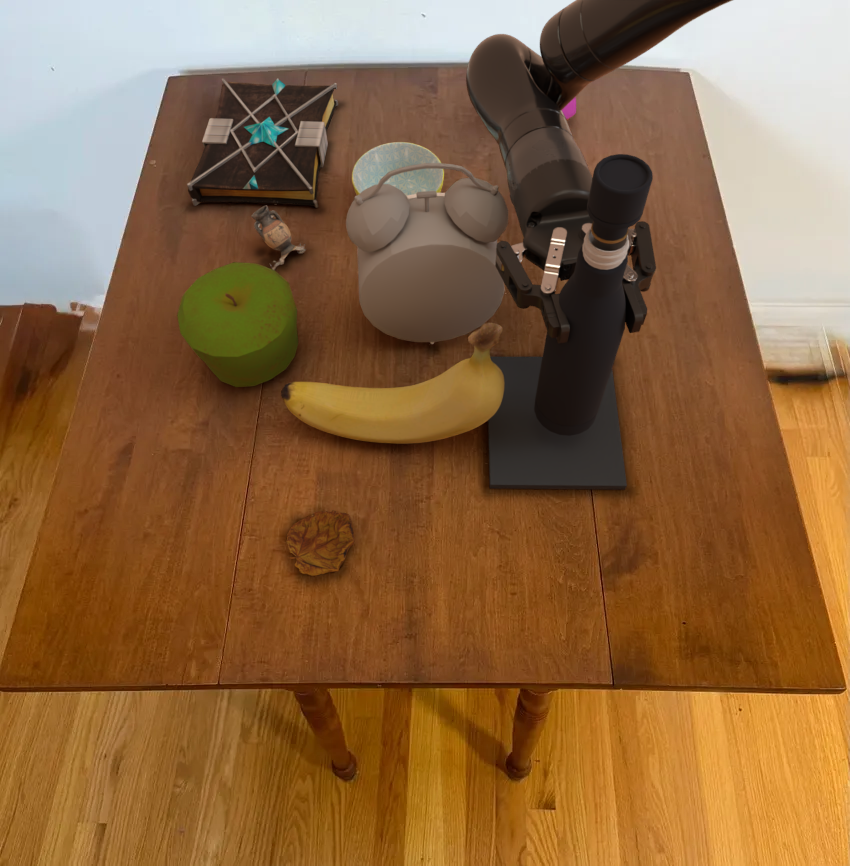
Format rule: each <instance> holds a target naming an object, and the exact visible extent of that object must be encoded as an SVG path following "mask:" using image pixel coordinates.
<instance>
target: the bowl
mask: <svg viewBox="0 0 850 866" xmlns="http://www.w3.org/2000/svg"><path fill="white" fill-rule="evenodd" d="M424 163H442V162H441V159H440V158H439V157H438V156H437V155H436V154H435V153H434V152H433V151H431V150H430V149H428V148H426V147H425V146H423V145H419V144H417V143H412V142H405V141H395V142H387V143H383V144H380V145H377V146H374V147H372V148H370V149H369V150H367V151H366V152H365V153H363V154H362V155H361V156H360V157H359V158H358V159H357V161H356V162H355V163H354V166H353V168H352V170H351V171H352V172H351V183H352V186H353V190H354V192H355V194H356V196H358V195H359V194H360V193H361V192H362V191H364V190H365V189H367V188H369V187H371V186H373V185H378V183H379V181H380V179H382V178H383V177H384V176H385V175H386V174H387V173H388V172H390V171H393V170H395V169H398V168H402V167H406V166H411V165H416V164H424ZM444 180H445V169H437V168H436V169H419V170H413V171H408V172H403V173H400V174H397V175H394V176H391V177H390V178H389V179H388V180H387V181H386V182H385V183H384V184H390V185H392V186H394V187H396V188H398V189H399V190H401V191H402V192H403V193H404V194H405V195H406V196H407V195H413V194H417V192H426V191H436V192H437V193H442V189H443V185H444Z"/></svg>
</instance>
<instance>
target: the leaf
mask: <svg viewBox="0 0 850 866" xmlns="http://www.w3.org/2000/svg"><path fill="white" fill-rule="evenodd" d="M353 528H354V527H353V521H352V518H351V516H350V514H349V513H347V512H338V511H336V510H334V509H332V510H331V511H328V510H325V511H324V510H318V511H314V512H313V513H312V514H311V515H308V516H307V517H305V518H302V519H301V520H299V521H298V522H295V523H293V524H292V526H291V527H290V529H289V531H288V533H287V535H285V536H286V538H287V539H286V540H285V542H286V544H287V547H288V551H289V553H290V554H293V555H294V556H295V557H294V556H293V557H289V559H296V561H295V563H294V567H295V568H297V569H298V571H299V573H300V574H302V575H307V576H312V577H314V576H315V577H316V576H318V575H324V574H327V573H335V572H339V571H340V567H341V566H342V564H343V563H344V562H345V560H346V557H347V554H348V551H349V549H350V548H351V547H352V546H353V545H354V544H355V534H354V529H353Z"/></svg>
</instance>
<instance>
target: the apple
mask: <svg viewBox="0 0 850 866" xmlns="http://www.w3.org/2000/svg"><path fill="white" fill-rule="evenodd" d="M176 316H177V323H178V329H179V333H180V335H181V337H182V338H183V339H184V341H185V342H186V343H187V345H188V346H189V347H190V349H191V350H192V351H193V352H194V354H196V356H197V357H198V358H199V359H200V360H201V361H203V362H204V363H205V365H206V366H207V367H208V369H209V370H210V371H211V373H213V374H214V375H215V376H216V378H217V379H218V380H219V381H220V382H222V383H225V384H227V385H230V386H233V387H234V388H244V387H245V388H246V387H256V386H258V385H261V384H264V383H266V382H268V381H270V380H272V379H274V378H275V377H277V376H278V375H280V374H281V373H282V372H283V371H285V370H287V368H288V367H289V365H290V364H291V363H292V361H293V360H294V358H295V357H296V353H297V349H298V345H299V335H298V334H299V333H298V327H297V326H298V308H297V304H296V302H295V299H294V294H293V292H292V289H291V285H290V282H289V281H287V279H285V278H284V277H283V276H282V275H280V273H278V271H276V269H274V270H273V269H272V268H270V267H267V266H265V265H262V264H260V263H257V262H239V261H234V262H231V263H230V262H229V263H228V264H225V265H222V266H219V267H217V268H214V269H212V270H210V271H209V272H207V273H204V274H203V275H201V276H199V277H197V278H196V280H195V281H194V282H193V283H192V284H191V285H190V286H189V287H188V289H186V291H185V292H184V293H183V294H182V296H181V297H180V302H179V306H178V310H177V315H176Z"/></svg>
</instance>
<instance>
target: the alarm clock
mask: <svg viewBox="0 0 850 866" xmlns="http://www.w3.org/2000/svg"><path fill="white" fill-rule="evenodd" d="M436 168H437V169H444V170H452V171H456V172H461V173H462V174H464V175H465V176H466V177H463V178H460V179H457V181H455V182H454V183H453V184H452V185H450V186H449V187H448V189H447V190H446V191H445V192H440V193H437V192H436V191H426V192H417V194H413V195H407V196H406V195H405V194H404V193H403V192H402V191H401V190H399V189H398V188H396V187H394V186H392V185H390V184H384V183H385V182H386V181H387V180H388V179H389V178H390V177H391V176H394V175H397V174H400V173H403V172H408V171H413V170H419V169H436ZM499 187H500V186H499V185H497V184H496V185H493V184H491V183H490V182H488V181H487V180H484V179H481V178H478V177H475V176H474V174H473V173H472V171H470V170H468V169H467V168H466V167H464V166H462V165H457V164H453V163H444V162H443V163H442V162H441V163H424V164H416V165H411V166H406V167H402V168H398V169H395V170H393V171H390V172H388V173H387V174H386V175H385V176H384V177H383V178H382V179H380V181H379V183H378V185H373V186H371V187H369V188H367V189H365V190H364V191H362V192H361V193H360V194H359V195H358V196H357V195H355V196H354V197H353V198H354V199H353V200H352V202H351V204H350V205H349V208H348V211H347V213H346V219H345V229H346V233H347V236H348V237H349V239H350V241H351V243H352V244H353V245H354V246H356V247H357V251H356V252H357V254H356V255H357V274H358V275H357V276H358V277H357V278H358V279H357V280H358V303H359V305H360V307H361V310H362V313H363V316H364V317H366V319H367V320H368V321H369V323H370V324H371V325H372V326H373V327H375V328H376V329H377V330H379V331H380V332H382V333H383V334H385V335H388V336H389V337H393V338H395V339H398V340H402V341H408V342H413V343H430V345H434V344H435V343H437V342H442V341H449V340H454V339H456V338H459V337H462V336H465V335H467V334H471V333H472V332H474V331H476V330H478V329H479V328H481V326H482V325H483V324H484V323H487V322H488V321H489V320H490V319H491V318H492V317H493V316H494V315H495V314H496V312H497V310H498V309H499V308H500V306H501V304H502V302H503V297H504V294H505V291H506V289H505V283H504V281H503V279H502V278H501V276H500V274H499V272H498V270H497V268H496V266H495V263H496V245H497V243H498V239H500V237H501V236H502V235H503V233H504V232H505V231H506V229H507V227H508V225H509V208H508V205H507V203H506V200H505V198H504V196H503V195H502V193H501V191H499Z"/></svg>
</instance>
